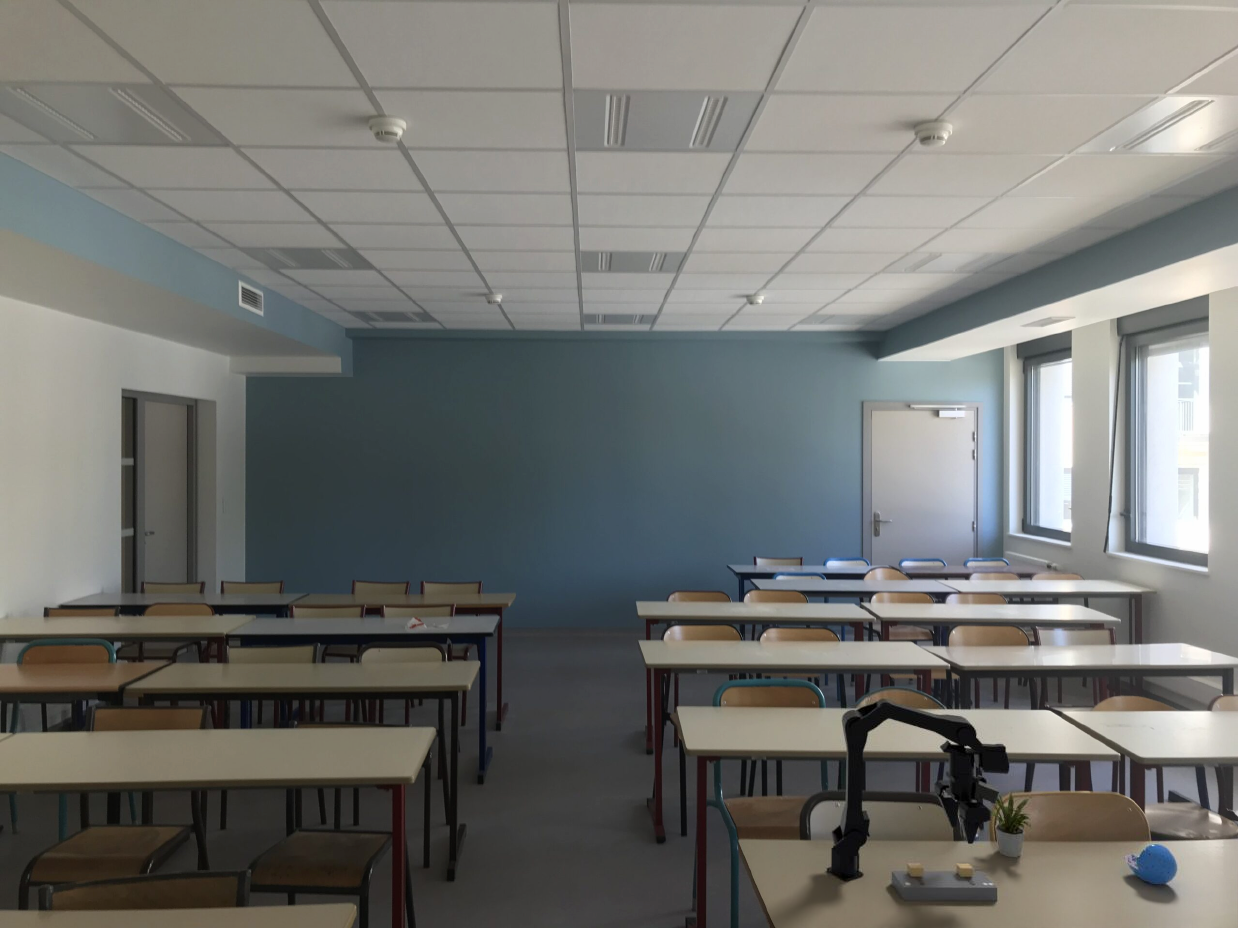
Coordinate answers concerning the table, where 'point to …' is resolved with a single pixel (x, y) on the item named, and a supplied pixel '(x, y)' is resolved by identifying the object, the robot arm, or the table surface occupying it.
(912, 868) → the outlet switch
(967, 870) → the outlet switch
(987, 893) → the grey slider switch box
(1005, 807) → the house plant
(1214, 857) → the table surface
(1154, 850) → the cell model
